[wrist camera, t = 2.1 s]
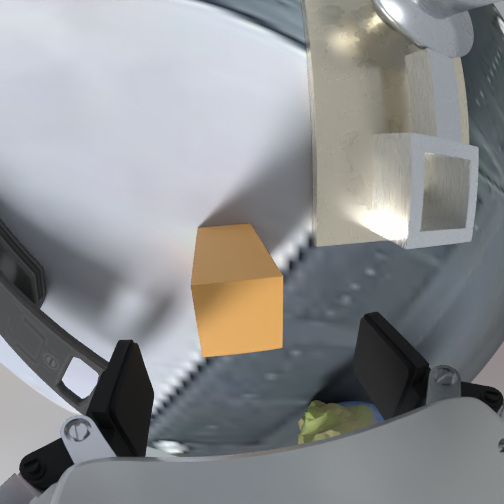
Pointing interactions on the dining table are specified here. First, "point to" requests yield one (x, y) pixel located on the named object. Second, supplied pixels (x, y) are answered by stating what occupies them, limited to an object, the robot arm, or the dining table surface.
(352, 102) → the door knob latch
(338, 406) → the relief earth globe
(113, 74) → the dining table surface
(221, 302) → the orange rectangular block
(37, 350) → the zipper pull
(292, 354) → the dining table surface
